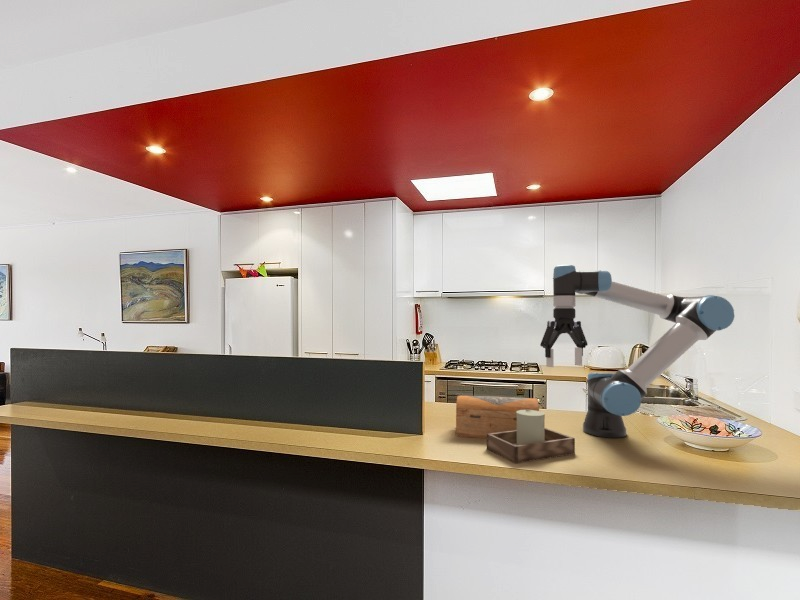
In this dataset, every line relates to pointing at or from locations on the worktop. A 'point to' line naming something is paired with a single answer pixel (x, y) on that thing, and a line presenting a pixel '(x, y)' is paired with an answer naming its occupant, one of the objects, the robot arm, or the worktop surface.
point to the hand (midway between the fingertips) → (564, 366)
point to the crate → (530, 446)
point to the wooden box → (489, 414)
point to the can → (530, 426)
